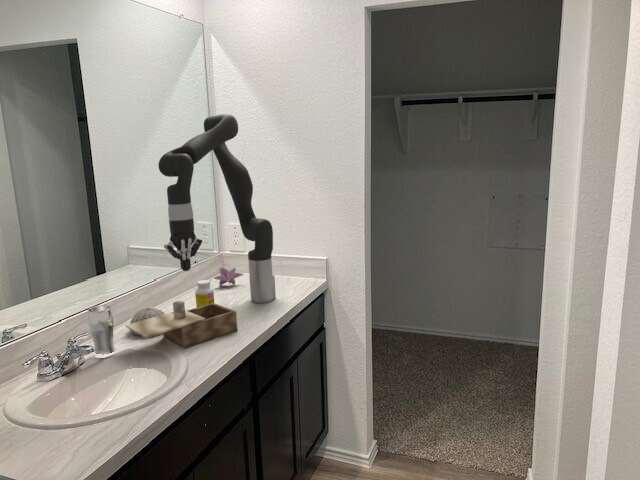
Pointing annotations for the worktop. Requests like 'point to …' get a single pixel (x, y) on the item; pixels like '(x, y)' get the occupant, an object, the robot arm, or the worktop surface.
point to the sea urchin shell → (145, 315)
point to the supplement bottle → (204, 293)
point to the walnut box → (204, 326)
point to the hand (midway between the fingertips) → (186, 270)
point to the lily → (227, 276)
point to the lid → (165, 321)
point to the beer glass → (101, 328)
